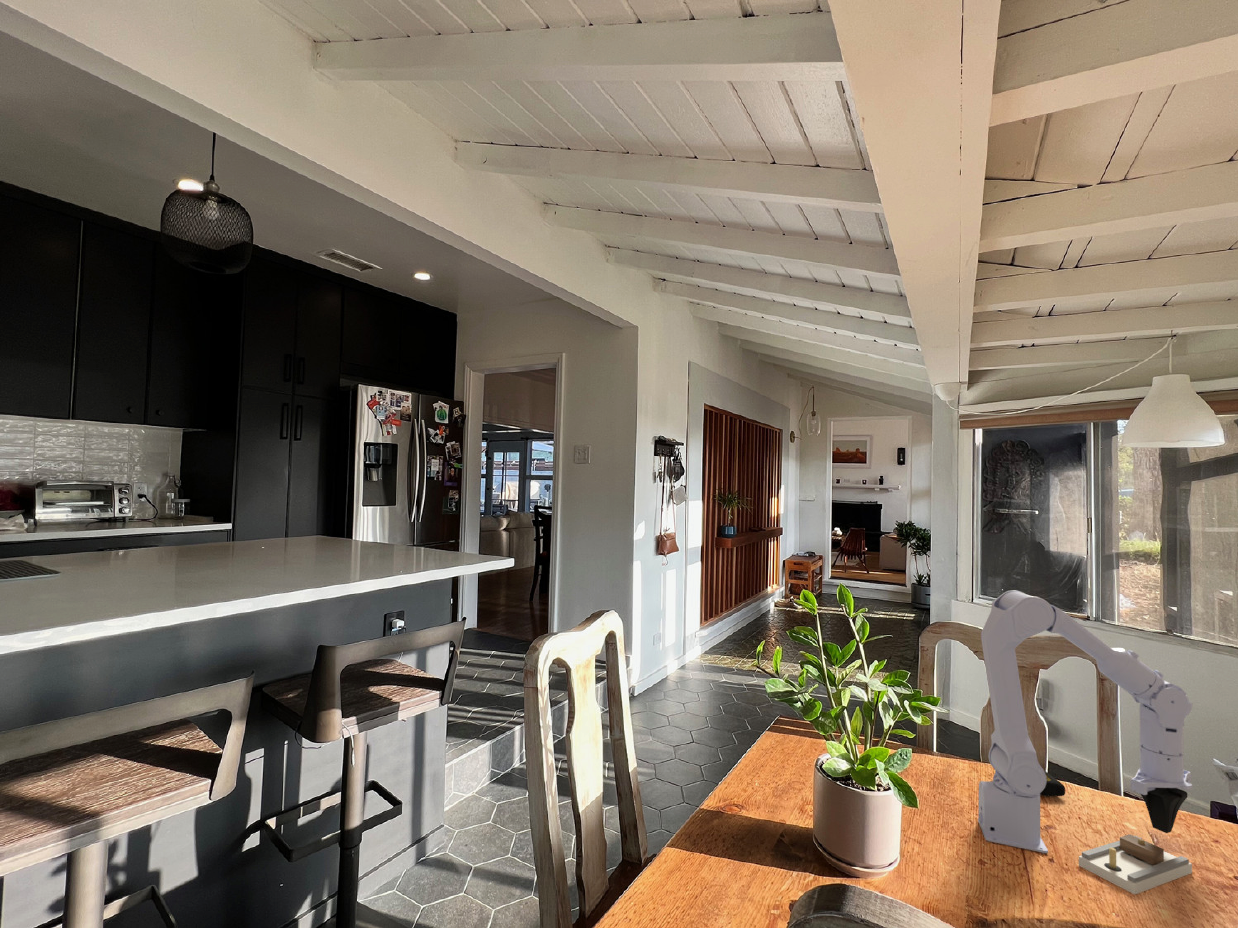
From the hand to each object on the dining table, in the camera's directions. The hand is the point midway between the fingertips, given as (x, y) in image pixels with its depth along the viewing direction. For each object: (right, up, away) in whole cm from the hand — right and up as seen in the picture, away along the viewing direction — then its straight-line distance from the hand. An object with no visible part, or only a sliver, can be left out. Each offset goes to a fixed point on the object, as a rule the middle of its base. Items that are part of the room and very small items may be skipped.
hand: (1161, 829), depth 105 cm
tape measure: (-4, -7, +24) cm, 25 cm away
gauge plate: (-8, -4, -4) cm, 10 cm away
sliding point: (-6, -3, -3) cm, 7 cm away
